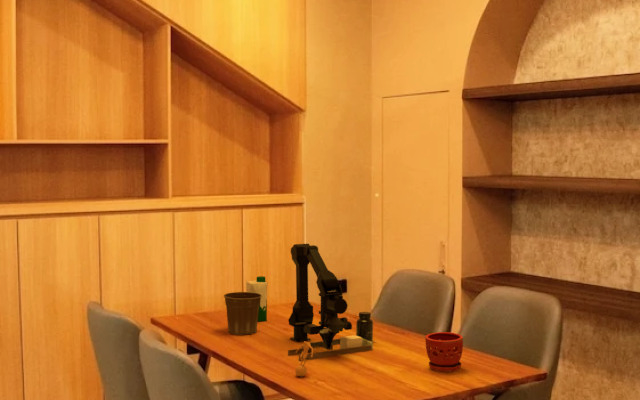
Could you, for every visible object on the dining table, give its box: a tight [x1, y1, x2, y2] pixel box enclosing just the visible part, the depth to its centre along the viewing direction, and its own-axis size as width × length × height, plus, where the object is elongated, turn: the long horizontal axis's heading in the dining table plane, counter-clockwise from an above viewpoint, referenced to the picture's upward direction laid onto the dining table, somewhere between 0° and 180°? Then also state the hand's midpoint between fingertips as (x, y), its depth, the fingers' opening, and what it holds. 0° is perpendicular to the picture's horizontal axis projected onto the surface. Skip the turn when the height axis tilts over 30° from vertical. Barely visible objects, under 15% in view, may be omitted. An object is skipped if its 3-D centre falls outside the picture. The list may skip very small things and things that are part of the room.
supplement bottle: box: [355, 311, 374, 342], centre depth 315 cm, size 7×7×12 cm
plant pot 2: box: [425, 331, 464, 373], centre depth 276 cm, size 13×13×12 cm
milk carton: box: [245, 275, 268, 323], centre depth 355 cm, size 9×9×20 cm
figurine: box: [295, 341, 314, 378], centre depth 267 cm, size 8×6×12 cm
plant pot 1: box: [223, 291, 262, 336], centre depth 332 cm, size 16×16×16 cm
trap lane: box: [287, 338, 374, 362], centre depth 301 cm, size 15×33×3 cm, turn 120°
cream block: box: [339, 334, 362, 349], centre depth 303 cm, size 5×7×5 cm
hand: (327, 349), depth 298 cm, fingers closed
